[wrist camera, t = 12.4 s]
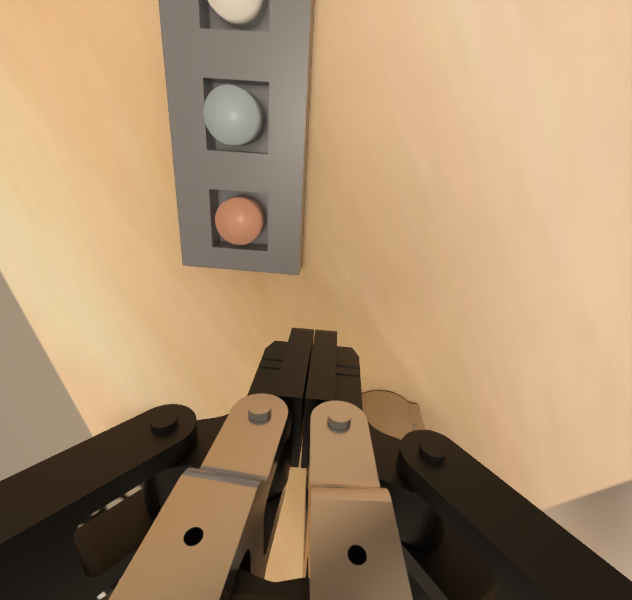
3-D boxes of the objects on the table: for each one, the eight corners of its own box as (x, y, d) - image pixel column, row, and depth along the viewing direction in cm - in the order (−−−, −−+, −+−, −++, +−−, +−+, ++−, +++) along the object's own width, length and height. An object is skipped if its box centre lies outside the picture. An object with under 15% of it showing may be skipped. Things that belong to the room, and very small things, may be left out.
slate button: (264, 91, 31) (256, 86, 28) (263, 146, 33) (256, 146, 30) (214, 88, 31) (201, 82, 29) (216, 143, 33) (205, 143, 30)
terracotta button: (266, 196, 36) (260, 200, 33) (266, 239, 38) (260, 246, 35) (223, 192, 36) (213, 196, 34) (225, 235, 38) (216, 243, 35)
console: (318, -76, 28) (315, -100, 25) (301, 265, 39) (298, 275, 37) (167, -83, 29) (148, -107, 26) (193, 257, 40) (182, 265, 37)
